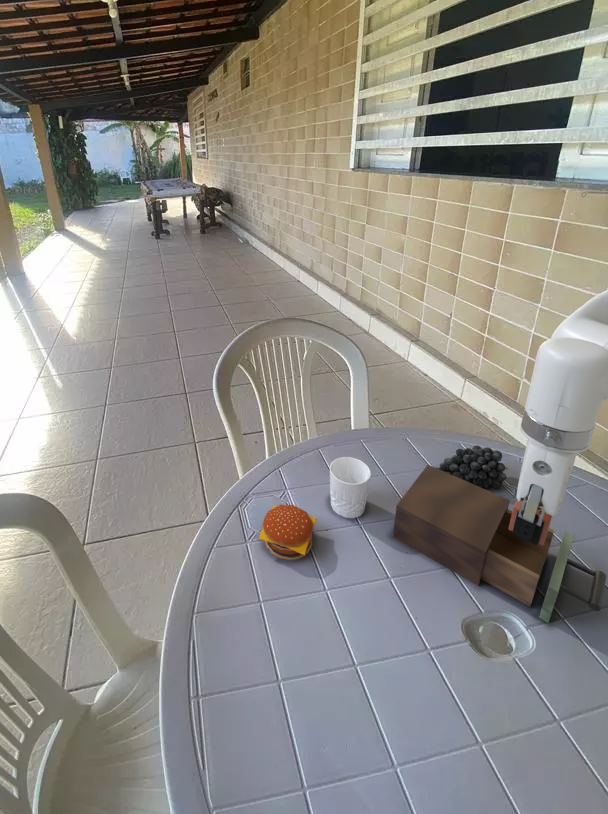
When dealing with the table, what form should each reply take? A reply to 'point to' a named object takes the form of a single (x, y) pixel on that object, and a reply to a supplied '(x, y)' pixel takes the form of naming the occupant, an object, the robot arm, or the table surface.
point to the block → (546, 518)
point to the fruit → (476, 466)
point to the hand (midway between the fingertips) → (529, 526)
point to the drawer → (534, 569)
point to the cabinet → (449, 521)
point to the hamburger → (288, 532)
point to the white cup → (349, 486)
